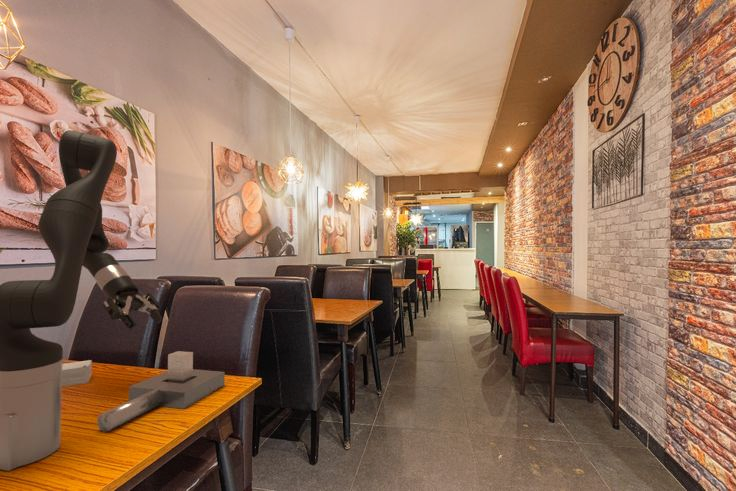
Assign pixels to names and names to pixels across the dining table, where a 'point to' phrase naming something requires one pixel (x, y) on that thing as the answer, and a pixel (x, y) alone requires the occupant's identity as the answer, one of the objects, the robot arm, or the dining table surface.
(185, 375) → the upright grey pillar
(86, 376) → the small box
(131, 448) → the dining table surface
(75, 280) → the robot arm
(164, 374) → the grey handled frame
